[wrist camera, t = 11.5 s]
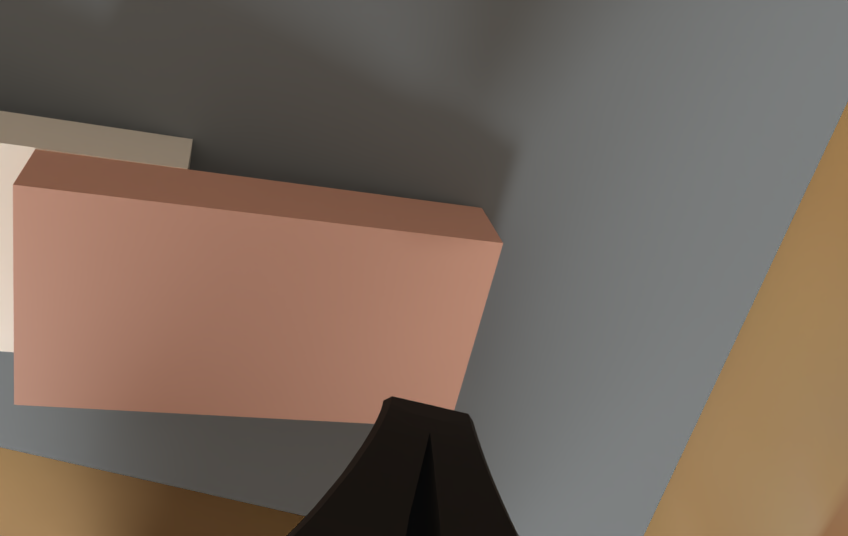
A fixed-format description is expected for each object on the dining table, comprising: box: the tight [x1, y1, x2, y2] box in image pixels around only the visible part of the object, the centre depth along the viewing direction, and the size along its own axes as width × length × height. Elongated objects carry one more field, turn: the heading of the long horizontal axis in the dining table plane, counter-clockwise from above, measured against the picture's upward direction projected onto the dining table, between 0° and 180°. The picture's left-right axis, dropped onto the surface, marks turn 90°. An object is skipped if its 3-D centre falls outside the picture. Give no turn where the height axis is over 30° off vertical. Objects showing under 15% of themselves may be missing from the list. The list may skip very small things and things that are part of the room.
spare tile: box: [13, 149, 503, 424], centre depth 16 cm, size 4×2×8 cm
